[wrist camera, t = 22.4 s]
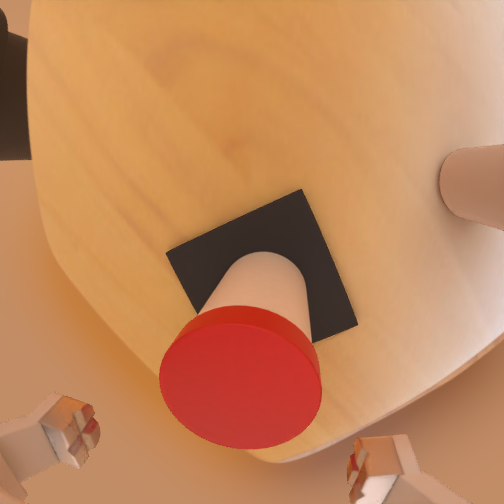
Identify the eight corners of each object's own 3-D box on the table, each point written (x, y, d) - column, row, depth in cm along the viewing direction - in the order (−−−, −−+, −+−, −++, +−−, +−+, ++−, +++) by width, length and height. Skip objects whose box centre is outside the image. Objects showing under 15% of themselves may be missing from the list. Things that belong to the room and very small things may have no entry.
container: (309, 454, 11) (333, 329, 10) (167, 437, 12) (151, 313, 10) (305, 335, 22) (313, 251, 20) (219, 328, 22) (219, 245, 21)
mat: (231, 368, 24) (230, 371, 23) (167, 251, 22) (165, 253, 22) (357, 321, 22) (358, 325, 21) (301, 188, 20) (301, 189, 20)
